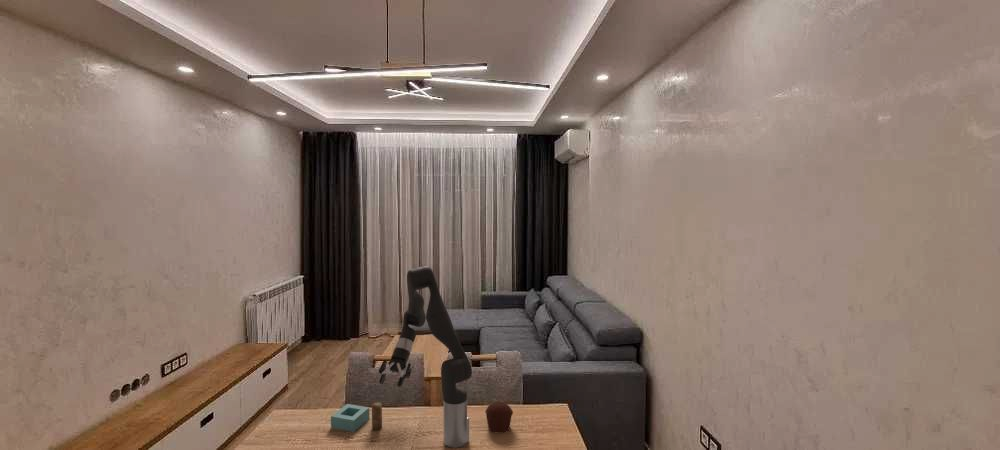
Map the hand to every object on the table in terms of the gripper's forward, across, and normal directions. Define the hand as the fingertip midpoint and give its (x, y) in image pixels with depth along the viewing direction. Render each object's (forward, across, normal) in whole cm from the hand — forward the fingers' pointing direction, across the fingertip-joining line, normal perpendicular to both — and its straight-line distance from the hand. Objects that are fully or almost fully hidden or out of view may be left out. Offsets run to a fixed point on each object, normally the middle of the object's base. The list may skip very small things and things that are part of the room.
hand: (389, 385), depth 191 cm
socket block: (+17, -13, +2) cm, 21 cm away
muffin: (+6, +48, +14) cm, 50 cm away
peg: (+17, 0, +2) cm, 17 cm away
